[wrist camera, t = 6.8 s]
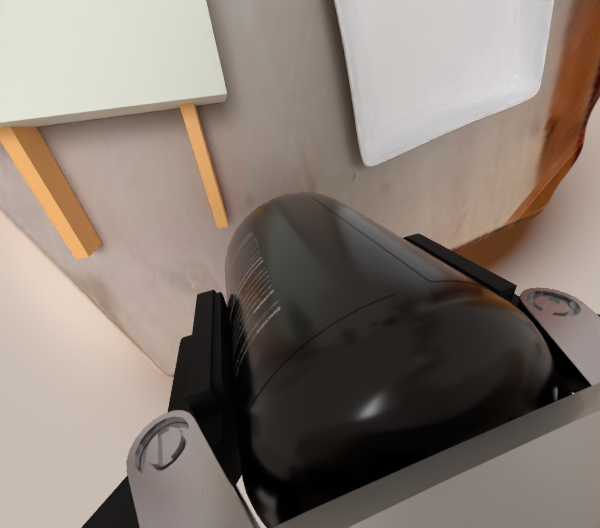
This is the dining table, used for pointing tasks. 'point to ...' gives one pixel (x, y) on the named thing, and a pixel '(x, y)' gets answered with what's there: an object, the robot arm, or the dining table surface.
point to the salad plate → (437, 65)
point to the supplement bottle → (361, 354)
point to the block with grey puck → (101, 85)
